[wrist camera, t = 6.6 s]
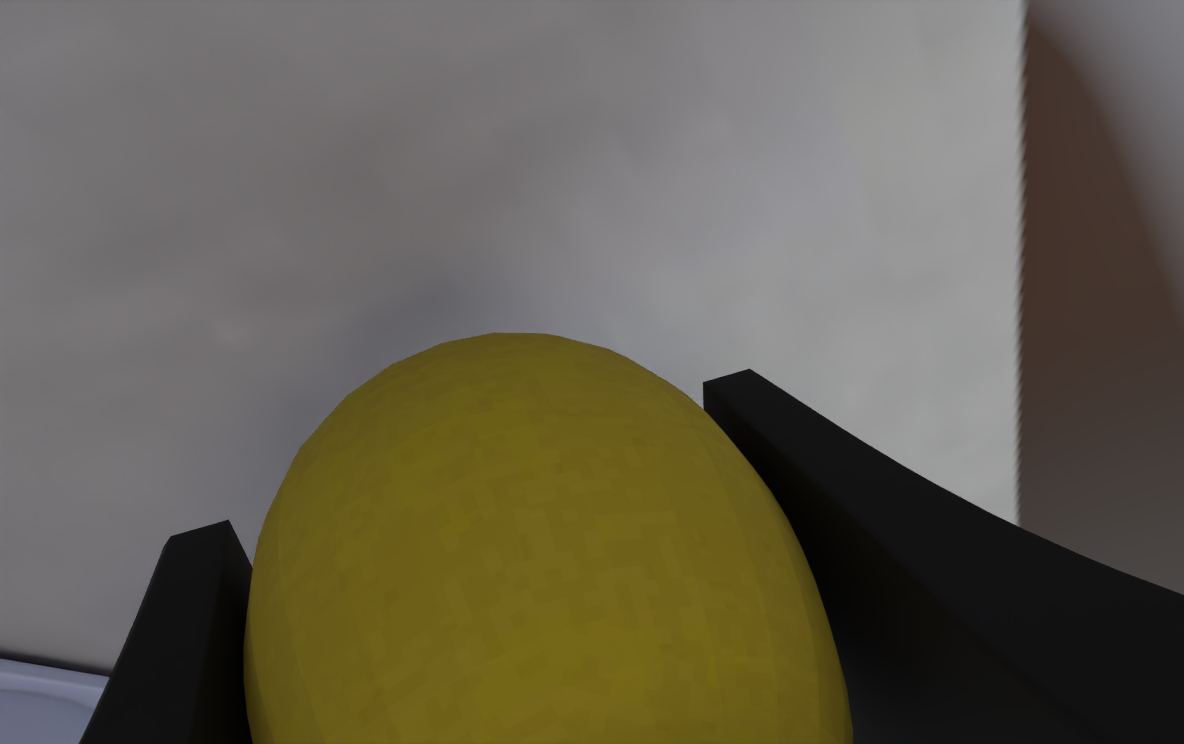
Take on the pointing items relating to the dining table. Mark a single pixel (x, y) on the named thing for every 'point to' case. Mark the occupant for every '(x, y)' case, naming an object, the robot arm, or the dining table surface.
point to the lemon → (532, 567)
